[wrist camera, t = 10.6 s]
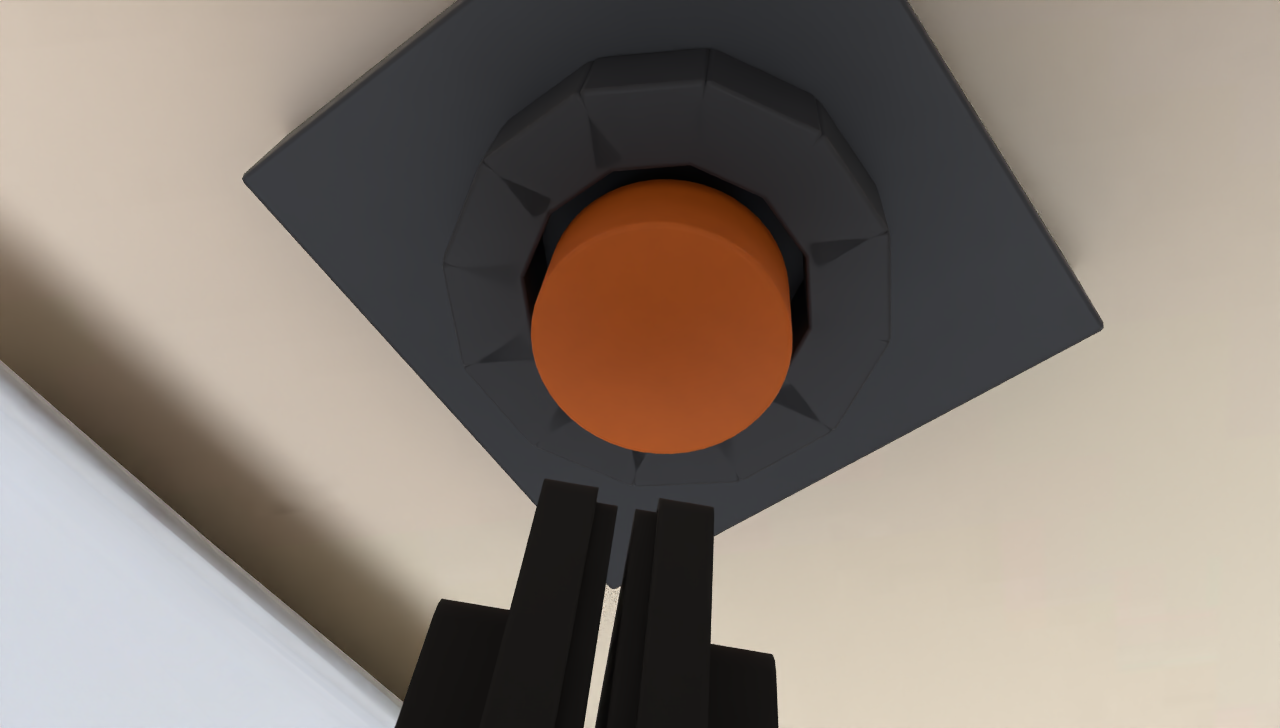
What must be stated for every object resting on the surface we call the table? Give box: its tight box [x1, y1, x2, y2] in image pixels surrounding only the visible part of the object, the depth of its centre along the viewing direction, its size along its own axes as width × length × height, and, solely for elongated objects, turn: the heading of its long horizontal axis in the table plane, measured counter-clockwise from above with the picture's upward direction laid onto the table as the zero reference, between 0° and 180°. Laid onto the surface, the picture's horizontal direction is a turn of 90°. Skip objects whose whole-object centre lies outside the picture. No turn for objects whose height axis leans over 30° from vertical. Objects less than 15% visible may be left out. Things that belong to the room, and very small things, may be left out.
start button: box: [531, 179, 792, 454], centre depth 17 cm, size 4×4×2 cm
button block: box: [242, 0, 1104, 589], centre depth 19 cm, size 10×10×4 cm
